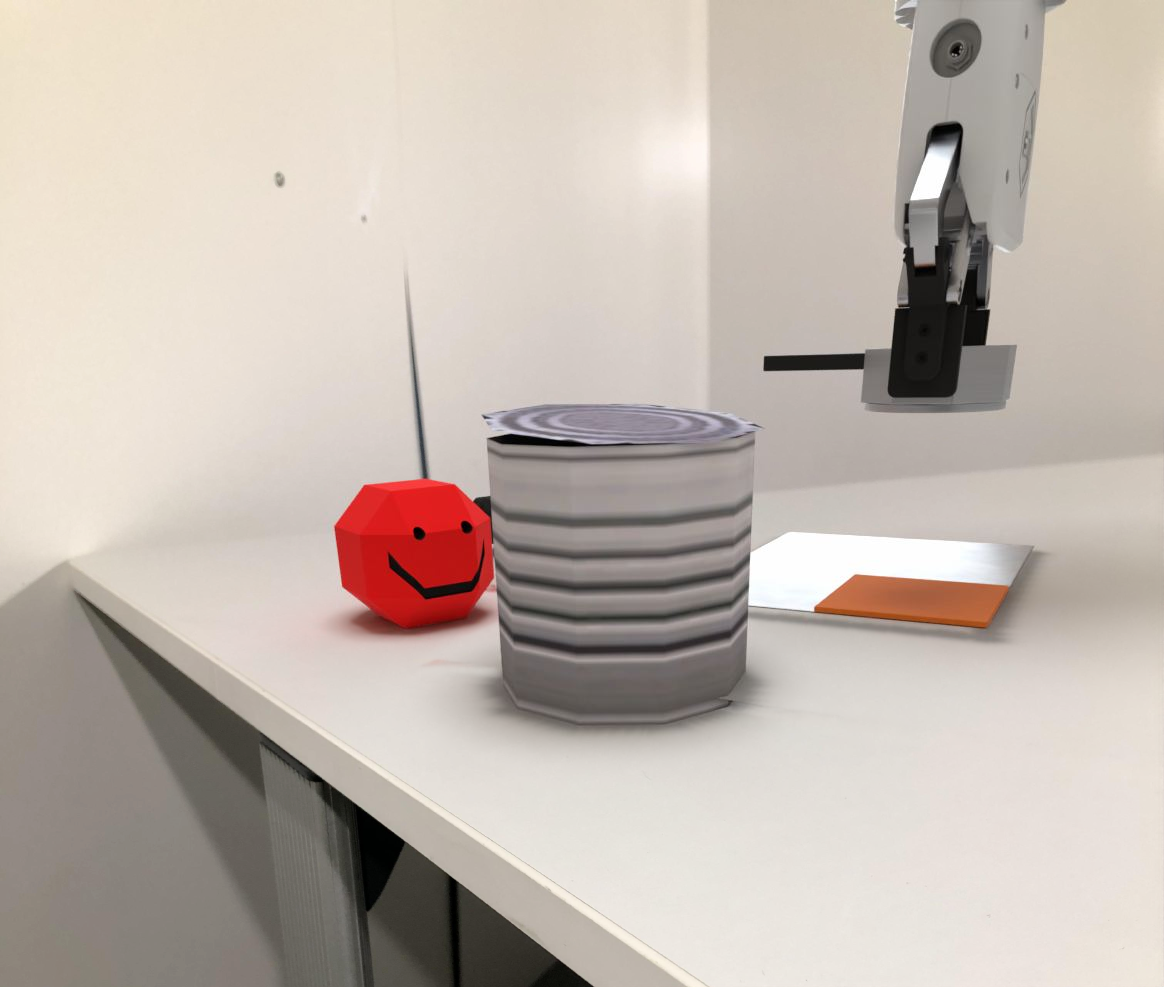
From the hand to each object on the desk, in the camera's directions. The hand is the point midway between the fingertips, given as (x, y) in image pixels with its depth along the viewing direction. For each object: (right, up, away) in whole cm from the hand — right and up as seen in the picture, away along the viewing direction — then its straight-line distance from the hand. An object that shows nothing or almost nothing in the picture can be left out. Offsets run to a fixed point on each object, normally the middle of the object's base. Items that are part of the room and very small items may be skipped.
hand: (936, 390), depth 50 cm
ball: (-28, -11, +7) cm, 31 cm away
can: (-17, -16, -6) cm, 24 cm away
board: (0, -7, +13) cm, 15 cm away
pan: (-2, 0, +2) cm, 3 cm away
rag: (0, -10, +5) cm, 11 cm away
